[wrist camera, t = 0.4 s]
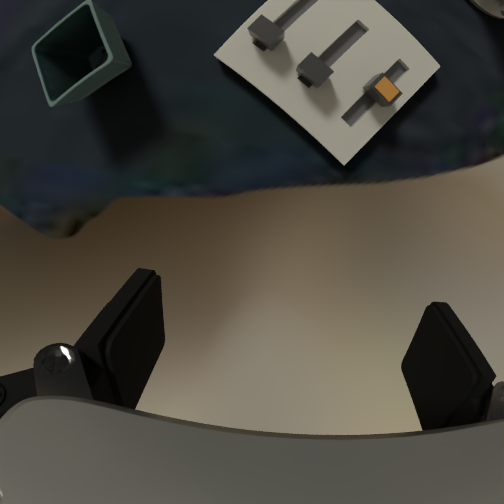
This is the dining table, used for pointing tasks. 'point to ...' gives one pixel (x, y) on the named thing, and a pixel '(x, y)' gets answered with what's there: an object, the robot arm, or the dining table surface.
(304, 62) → the breaker middle
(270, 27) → the block
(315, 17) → the breaker board
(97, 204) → the dining table surface
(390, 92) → the breaker
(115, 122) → the dining table surface
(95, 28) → the flower pot
